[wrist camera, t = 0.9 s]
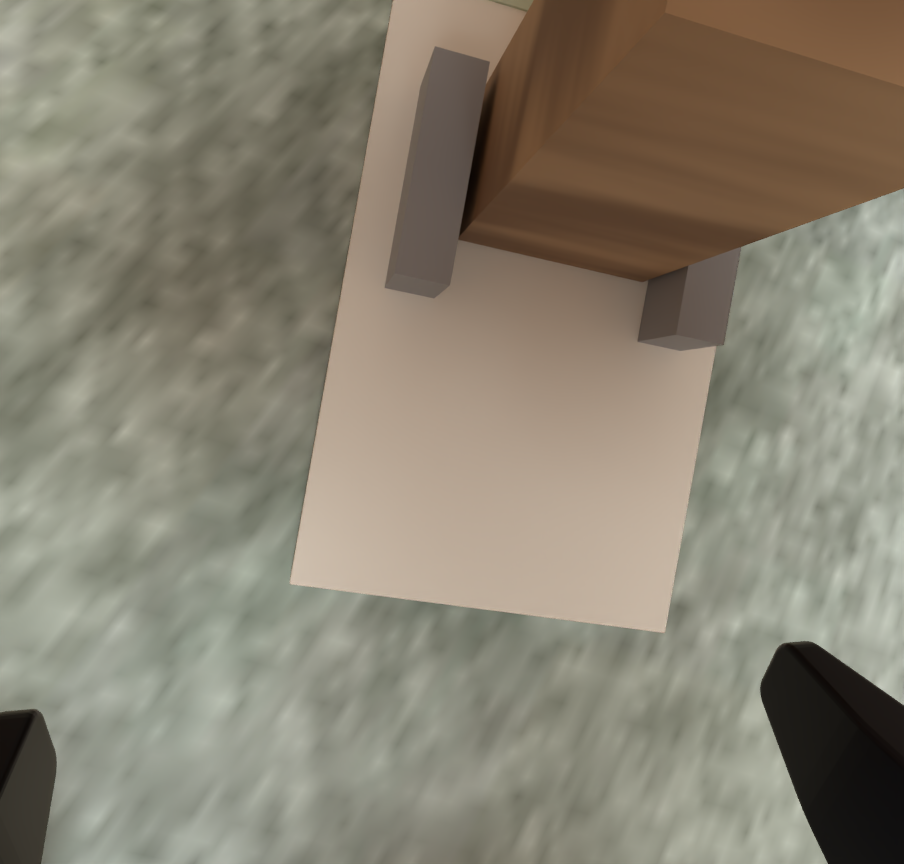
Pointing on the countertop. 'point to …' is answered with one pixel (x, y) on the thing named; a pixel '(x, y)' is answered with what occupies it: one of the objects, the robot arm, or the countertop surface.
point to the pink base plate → (496, 378)
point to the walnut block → (683, 127)
